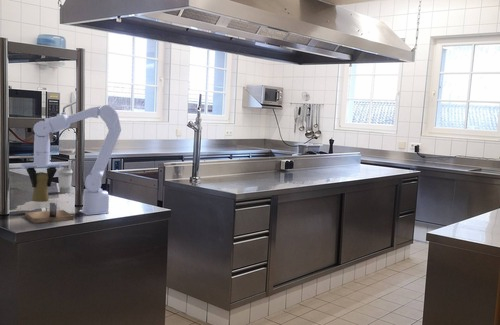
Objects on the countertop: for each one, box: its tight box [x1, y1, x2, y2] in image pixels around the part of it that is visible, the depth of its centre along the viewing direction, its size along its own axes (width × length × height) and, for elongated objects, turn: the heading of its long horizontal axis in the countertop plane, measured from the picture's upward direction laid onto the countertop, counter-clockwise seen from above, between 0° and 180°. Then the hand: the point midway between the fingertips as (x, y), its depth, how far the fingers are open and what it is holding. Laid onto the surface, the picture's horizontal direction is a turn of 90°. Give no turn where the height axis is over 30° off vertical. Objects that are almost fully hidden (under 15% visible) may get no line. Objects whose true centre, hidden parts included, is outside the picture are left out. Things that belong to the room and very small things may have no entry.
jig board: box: [24, 209, 74, 224], centre depth 184 cm, size 14×12×2 cm
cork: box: [31, 171, 49, 203], centre depth 192 cm, size 6×6×11 cm
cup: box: [57, 168, 74, 194], centre depth 236 cm, size 7×7×12 cm
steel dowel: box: [49, 202, 58, 217], centre depth 180 cm, size 2×2×5 cm
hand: (41, 186), depth 192 cm, fingers closed on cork, 5 cm apart
